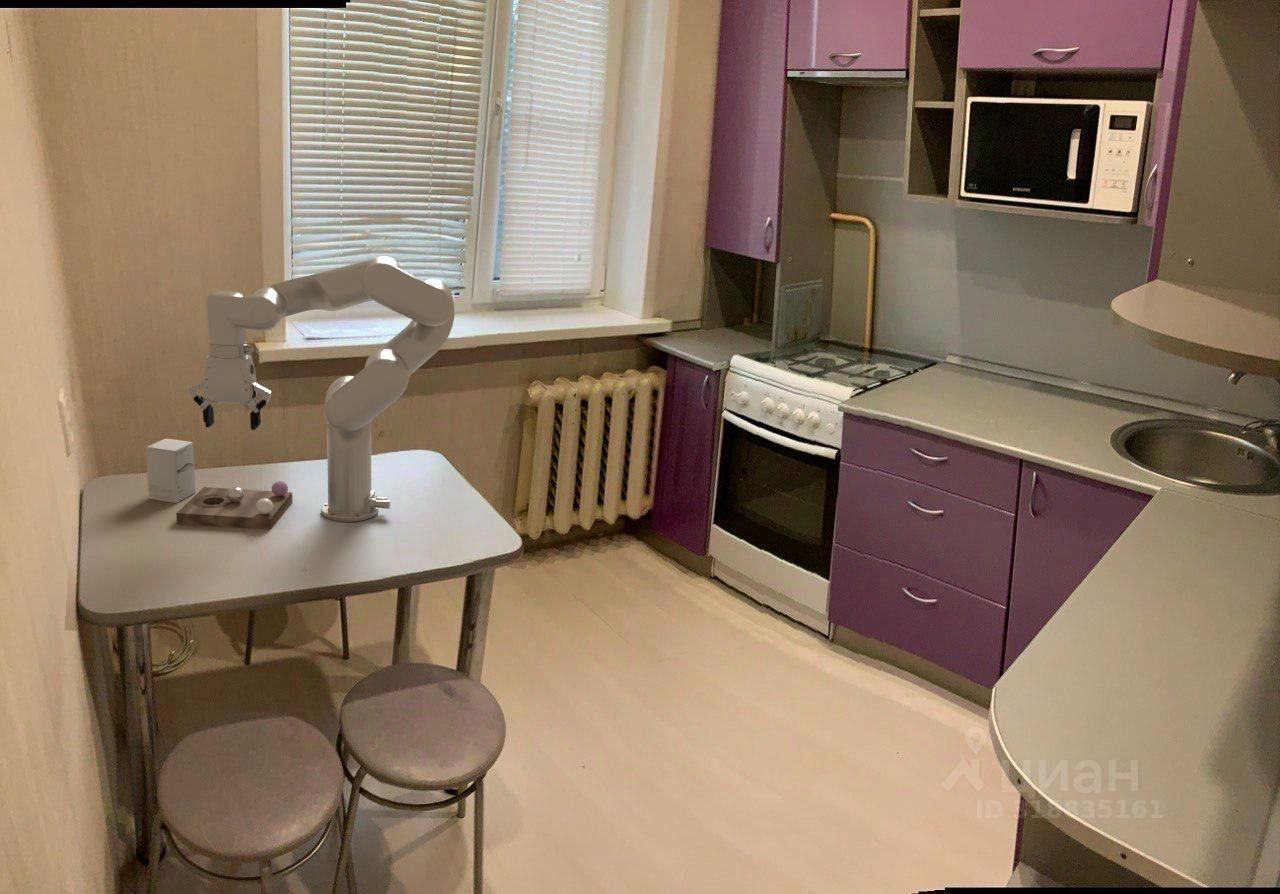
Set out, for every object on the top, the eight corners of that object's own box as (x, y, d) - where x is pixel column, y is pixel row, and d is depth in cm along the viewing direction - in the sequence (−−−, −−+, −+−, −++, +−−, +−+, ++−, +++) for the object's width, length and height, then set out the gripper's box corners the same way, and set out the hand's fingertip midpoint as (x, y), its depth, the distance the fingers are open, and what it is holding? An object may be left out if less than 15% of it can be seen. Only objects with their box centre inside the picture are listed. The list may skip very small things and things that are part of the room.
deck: (292, 502, 240) (292, 492, 239) (270, 529, 225) (270, 518, 224) (204, 497, 239) (203, 486, 238) (177, 523, 224) (176, 513, 223)
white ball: (275, 511, 228) (274, 496, 227) (270, 517, 225) (269, 502, 224) (259, 510, 228) (258, 495, 227) (254, 516, 225) (253, 501, 224)
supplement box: (177, 504, 234) (173, 451, 230) (147, 499, 236) (143, 446, 232) (197, 493, 241) (193, 441, 237) (168, 488, 242) (164, 437, 239)
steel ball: (246, 500, 233) (246, 485, 232) (241, 505, 230) (240, 491, 229) (231, 499, 233) (230, 484, 232) (225, 504, 230) (224, 490, 228)
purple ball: (290, 493, 239) (289, 479, 238) (285, 499, 235) (285, 484, 234) (274, 492, 238) (274, 478, 237) (269, 498, 235) (269, 483, 234)
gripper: (274, 348, 224) (278, 424, 230) (193, 343, 224) (198, 419, 229) (263, 356, 217) (267, 434, 223) (179, 351, 217) (185, 429, 222)
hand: (232, 426), depth 226 cm, fingers open, 9 cm apart
